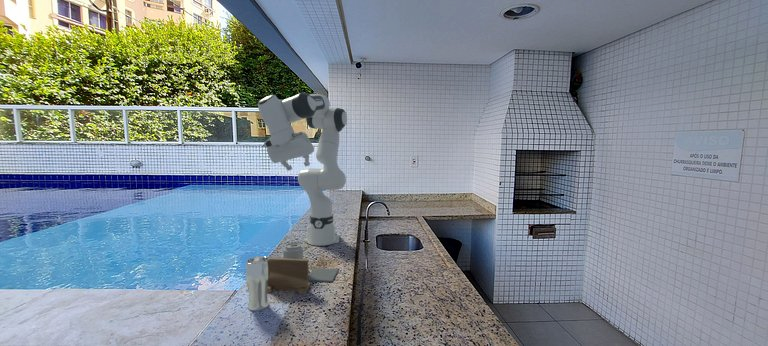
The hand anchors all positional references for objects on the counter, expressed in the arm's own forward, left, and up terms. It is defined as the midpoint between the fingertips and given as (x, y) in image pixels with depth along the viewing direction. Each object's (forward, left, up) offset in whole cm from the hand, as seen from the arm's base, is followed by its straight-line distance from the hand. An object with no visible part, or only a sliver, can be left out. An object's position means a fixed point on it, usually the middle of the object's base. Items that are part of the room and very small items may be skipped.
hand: (298, 167), depth 127 cm
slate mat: (+8, +12, -42) cm, 44 cm away
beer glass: (+33, -2, -42) cm, 53 cm away
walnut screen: (+21, +3, -42) cm, 47 cm away
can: (+8, 0, -42) cm, 43 cm away
